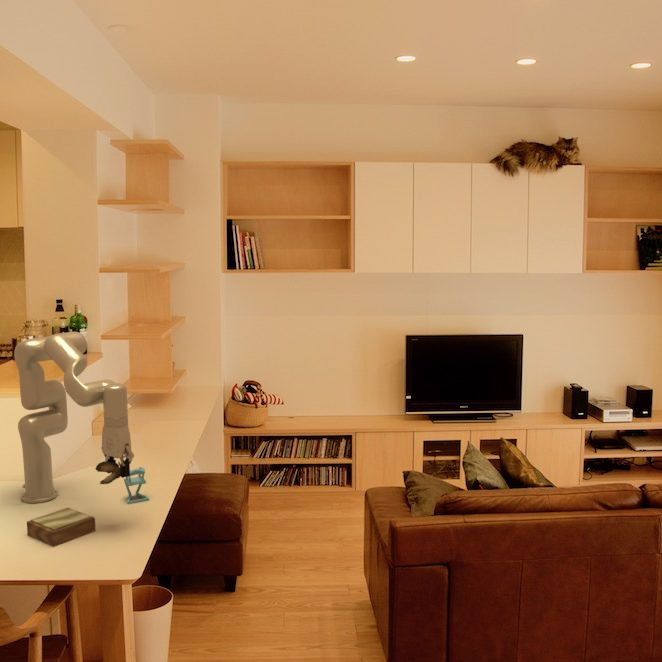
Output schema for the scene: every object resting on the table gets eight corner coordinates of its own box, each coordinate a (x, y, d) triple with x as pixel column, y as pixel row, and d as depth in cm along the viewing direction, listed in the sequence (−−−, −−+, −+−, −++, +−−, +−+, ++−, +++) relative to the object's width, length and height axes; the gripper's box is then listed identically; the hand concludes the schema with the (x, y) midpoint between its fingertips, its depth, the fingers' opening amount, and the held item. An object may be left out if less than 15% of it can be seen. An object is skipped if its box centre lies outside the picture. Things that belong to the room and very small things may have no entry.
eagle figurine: (113, 470, 248) (91, 472, 241) (123, 454, 246) (100, 456, 239) (124, 486, 244) (101, 489, 237) (134, 470, 242) (111, 473, 235)
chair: (143, 493, 275) (142, 462, 273) (149, 500, 267) (147, 468, 266) (122, 497, 271) (120, 465, 270) (127, 504, 264) (126, 471, 262)
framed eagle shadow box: (27, 534, 238) (26, 520, 237) (68, 520, 249) (68, 506, 249) (53, 546, 228) (53, 531, 228) (95, 530, 240) (94, 516, 240)
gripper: (90, 419, 243) (92, 472, 245) (123, 428, 233) (125, 482, 235) (109, 415, 249) (111, 466, 251) (142, 423, 238) (144, 476, 241)
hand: (118, 473), depth 243 cm, fingers closed on eagle figurine, 6 cm apart
